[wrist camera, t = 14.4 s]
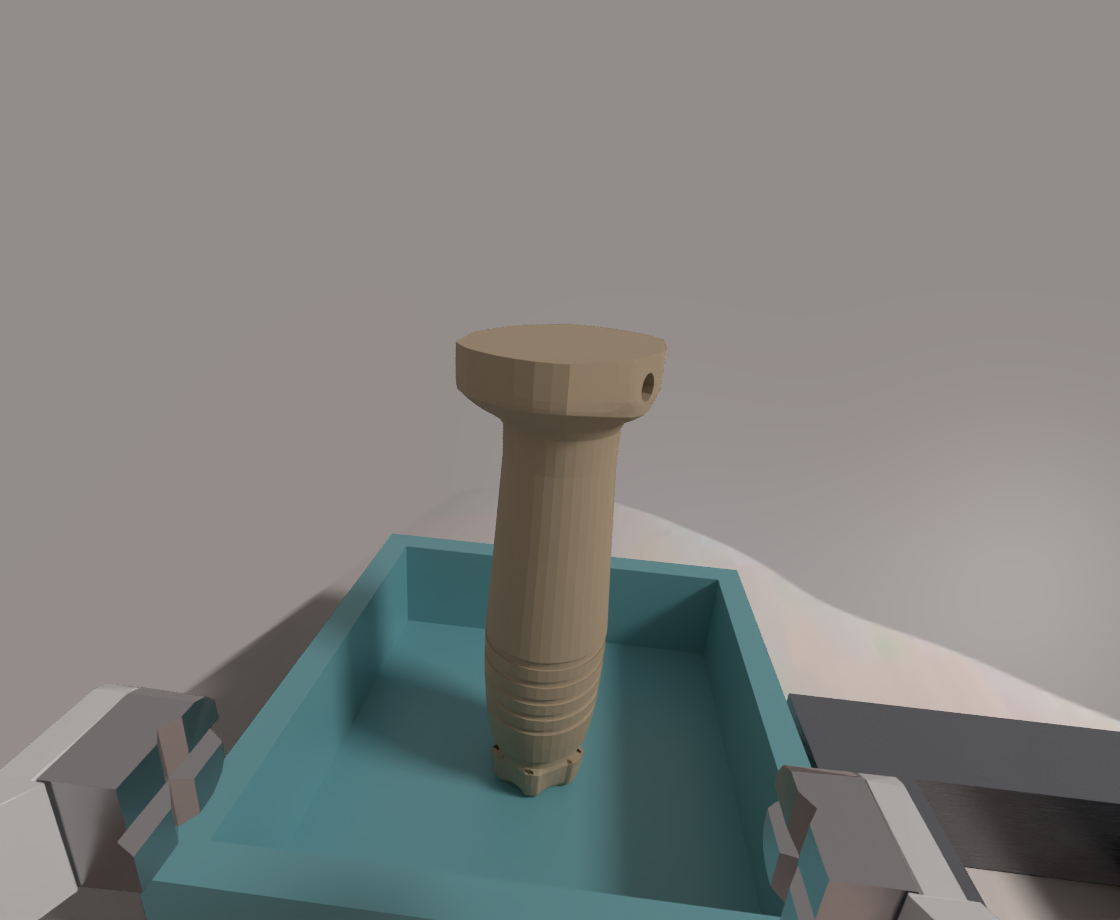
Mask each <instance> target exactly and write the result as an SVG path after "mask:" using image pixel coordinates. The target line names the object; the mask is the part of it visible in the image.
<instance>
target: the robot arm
mask: <svg viewBox="0 0 1120 920" xmlns="http://www.w3.org/2000/svg"><path fill="white" fill-rule="evenodd" d="M217 719H218V714H217V709H216V705H215V700H213V699H210V698H208V697H204V696H197V695H190V694H184V693H177V692H169V691H163V690H156V689H149V688H143V687H141V688H139V687H131V686H125V685H118V684H111V683H108V684H106V685H103V686H100V687H97V688H95V689H94V690H92V691H91V692H90V693H89V694H88V695H87V696H85V697H84V699H82V700H81V701H80V702H78V703H77V704H76V705H75V706H74V707H73V708H72V709H70V710H69V711H68V712H67V713H66V714H65V715H63V716H62V717H61V718H60V719H59V720H58V721H57V722H55V723H54V724H53V725H52V726H51V727H50V728H48V729H47V730H46V731H45V732H44V733H43V734H42V735H40V736H39V737H38V738H37V739H36V740H35V741H33V742H32V743H31V744H30V745H29V746H28V747H26V748H25V749H24V750H23V751H22V752H21V753H20V754H18V755H17V756H16V757H15V758H14V759H13V760H12V761H10V762H9V763H8V764H7V765H6V766H5V767H3V768H2V769H1V770H0V920H38V919H40V918H41V917H43V916H44V915H45V914H47V913H48V912H49V911H51V910H52V909H53V908H55V907H56V906H58V905H59V904H60V903H62V902H63V901H64V900H66V899H67V898H69V897H70V896H71V895H73V894H74V893H75V892H77V890H78V888H77V886H79V887H89V888H99V889H108V890H118V891H128V892H138V893H143V892H144V891H145V889H146V888H147V886H148V885H149V884H150V882H151V881H152V880H153V878H154V877H155V875H156V874H157V873H158V871H159V870H160V868H161V867H162V866H163V864H164V863H165V861H166V860H167V859H168V857H169V856H170V855H171V853H172V852H173V850H174V849H175V848H176V846H177V845H178V837H179V826H180V825H182V824H183V823H185V822H187V821H188V820H190V819H191V818H193V817H194V816H196V815H198V814H199V813H200V812H201V811H202V810H203V808H204V807H205V805H206V804H207V802H208V801H209V799H210V798H211V796H212V795H213V793H214V791H215V788H216V786H217V783H218V781H219V779H220V776H221V774H222V770H223V762H224V749H223V743H222V741H221V740H220V739H219V737H218V736H217V735H216V734H215V733H214V732H213V731H212V730H211V729H210V728H211V727H212V725H213V724H214V723H215V721H216V720H217ZM774 786H775V790H776V793H777V796H778V801H777V802H776V803H774V804H773V805H772V806H770V807H769V808H768V809H767V813H766V818H765V822H764V826H763V852H764V859H765V866H766V871H767V875H768V879H769V883H770V886H771V888H772V889H773V890H774V891H775V892H776V894H777V895H778V896H779V897H780V898H781V899H782V901H783V902H784V903H785V904H784V908H783V911H782V914H781V918H780V920H1000V919H999V918H998V917H996V916H995V915H994V914H993V913H992V912H991V911H990V910H989V909H987V908H986V907H985V906H984V905H983V904H982V903H981V902H975V901H969V900H967V898H966V896H965V895H964V893H963V891H962V889H961V887H960V886H959V884H958V882H957V880H956V878H955V876H954V875H953V873H952V871H951V869H950V867H949V866H948V864H947V862H946V860H945V858H944V857H943V855H942V853H941V851H940V849H939V848H938V846H937V844H936V842H935V840H934V838H933V837H932V835H931V833H930V831H929V829H928V828H927V826H926V824H925V822H924V820H923V819H922V817H921V815H920V813H919V811H918V810H917V808H916V806H915V804H914V802H913V801H912V799H911V797H910V795H909V793H908V791H907V790H906V788H905V786H904V784H903V783H902V782H901V781H899V780H898V779H897V778H896V777H890V776H881V775H872V774H863V773H857V774H855V773H853V772H846V771H836V770H827V769H818V768H808V767H799V766H790V765H783V766H782V767H781V768H780V769H779V771H778V773H777V777H776V780H775V783H774Z"/></svg>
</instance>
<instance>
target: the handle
mask: <svg viewBox="0 0 1120 920" xmlns="http://www.w3.org/2000/svg"><path fill="white" fill-rule="evenodd" d="M666 348H667V347H666V344H665V341H664V340H663V339H660V338H657V337H654V336H650V335H645V334H641V333H636V332H630V331H624V330H618V329H610V328H603V327H595V326H584V325H571V324H557V325H556V324H551V325H519V326H518V325H517V326H509V327H501V328H494V329H486V330H481V331H476V332H473V333H470V334H468V335H467V336H465V337H463V338H461V339H460V340H458V341H457V342H456V384H457V388H458V390H460V391H461V392H462V393H463V394H464V395H465V396H466V397H467V398H468V399H469V400H471V401H472V402H473V403H475V404H476V405H477V406H479V407H481V408H482V409H483V410H485V411H487V412H489V413H491V414H493V415H495V416H497V417H498V418H500V419H501V421H502V422H503V457H502V468H501V479H500V488H499V499H498V509H497V520H496V530H495V539H494V549H493V558H492V567H491V576H490V585H489V595H488V604H487V613H486V628H485V688H486V703H487V713H488V719H489V725H490V730H491V733H492V736H493V738H494V740H495V742H494V745H493V747H491V755H492V764H493V769H494V771H495V773H496V775H497V776H498V778H499V779H501V780H502V781H508V782H511V783H513V784H515V785H516V786H518V787H519V788H520V789H521V790H522V791H523V794H525V795H530V796H538V795H539V793H541V792H542V791H543V790H545V789H547V788H549V787H552V786H556V785H561V784H562V785H566V784H569V783H570V782H572V780H573V779H574V778H575V776H576V775H577V772H578V769H579V767H580V764H581V759H582V755H583V751H584V750H583V749H582V748H581V746H580V745H581V744H582V742H583V741H584V739H585V736H586V733H587V730H588V728H589V725H590V722H591V718H592V714H593V711H594V707H595V702H596V697H597V692H598V686H599V682H600V677H601V671H602V664H603V657H604V649H605V642H606V634H607V624H608V605H609V585H610V565H611V545H612V528H613V511H614V495H615V478H616V463H617V455H618V447H619V439H620V432H621V428H622V426H623V424H624V423H626V422H629V421H632V420H635V419H637V418H639V417H641V416H643V415H644V414H645V413H646V412H647V411H648V410H649V409H650V408H651V406H652V404H653V403H654V401H655V399H656V397H657V395H658V393H659V391H660V387H661V382H662V376H663V371H664V363H665V355H666Z"/></svg>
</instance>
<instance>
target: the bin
mask: <svg viewBox="0 0 1120 920" xmlns="http://www.w3.org/2000/svg"><path fill="white" fill-rule="evenodd" d="M493 549H494V544H485V543H475V542H466V541H456V540H447V539H438V538H428V537H419V536H409V535H400V534H392V535H391V536H390V538H389V539H388V540H387V541H386V543H385V544H384V545H383V547H382V548H381V550H380V551H379V552H378V554H377V555H376V556H375V558H374V559H373V560H372V562H371V563H370V564H369V566H368V567H367V568H366V570H365V571H364V572H363V574H362V575H361V576H360V578H359V579H358V580H357V582H356V583H355V584H354V586H353V587H352V588H351V590H350V591H349V592H348V594H347V595H346V596H345V598H344V599H343V600H342V602H341V603H340V604H339V606H338V607H337V609H336V610H335V611H334V613H333V614H332V615H331V617H330V618H329V619H328V621H327V622H326V623H325V625H324V626H323V627H322V629H321V630H320V631H319V633H318V634H317V635H316V637H315V638H314V639H313V641H312V642H311V643H310V645H309V646H308V647H307V649H306V650H305V651H304V653H303V654H302V655H301V657H300V658H299V659H298V661H297V662H296V664H295V665H294V666H293V668H292V669H291V670H290V672H289V673H288V674H287V676H286V677H285V678H284V680H283V681H282V682H281V684H280V685H279V686H278V688H277V689H276V690H275V692H274V693H273V694H272V696H271V697H270V698H269V700H268V701H267V702H266V704H265V705H264V706H263V708H262V709H261V710H260V712H259V713H258V714H257V716H256V717H255V718H254V720H253V721H252V723H251V724H250V725H249V727H248V728H247V729H246V731H245V732H244V733H243V735H242V736H241V737H240V739H239V740H238V741H237V743H236V744H235V745H234V747H233V748H232V749H231V751H230V752H229V753H228V755H227V756H226V757H225V759H224V762H223V770H222V774H221V776H220V779H219V781H218V783H217V786H216V788H215V791H214V793H213V795H212V796H211V798H210V799H209V801H208V802H207V804H206V805H205V807H204V808H203V810H202V811H201V812H200V813H199V814H198V815H196V816H194V817H193V818H191V819H190V820H188V821H187V822H185V823H183V824H182V825H180V826H179V837H178V845H177V846H176V848H175V849H174V850H173V852H172V853H171V855H170V856H169V857H168V859H167V860H166V861H165V863H164V864H163V866H162V867H161V868H160V870H159V871H158V873H157V874H156V875H155V877H154V878H153V880H152V881H151V882H150V884H149V885H148V886H147V888H146V889H145V891H144V892H143V893H140V896H141V900H142V904H143V908H144V912H145V915H146V919H147V920H780V918H781V914H782V911H783V908H784V904H785V903H784V902H783V901H782V899H781V898H780V897H779V896H778V895H777V894H776V892H775V891H774V890H773V889H772V888H771V886H770V883H769V879H768V875H767V871H766V866H765V859H764V852H763V826H764V822H765V818H766V813H767V809H768V808H769V807H770V806H772V805H773V804H774V803H776V802H777V801H778V796H777V793H776V790H775V786H774V783H775V780H776V777H777V773H778V771H779V769H780V768H781V767H782V766H783V765H790V766H799V767H808V768H811V765H810V763H809V760H808V757H807V755H806V752H805V749H804V747H803V744H802V742H801V739H800V736H799V734H798V731H797V728H796V726H795V723H794V720H793V718H792V715H791V712H790V710H789V707H788V704H787V702H786V699H785V697H784V694H783V691H782V689H781V686H780V683H779V681H778V678H777V675H776V673H775V670H774V667H773V665H772V662H771V660H770V657H769V654H768V652H767V649H766V646H765V644H764V641H763V638H762V636H761V633H760V630H759V628H758V625H757V623H756V620H755V617H754V615H753V612H752V609H751V607H750V604H749V601H748V599H747V596H746V593H745V591H744V588H743V586H742V583H741V580H740V578H739V575H738V572H737V570H730V569H720V568H711V567H701V566H692V565H683V564H673V563H664V562H654V561H645V560H635V559H626V558H617V557H611V565H610V585H609V605H608V624H607V634H606V642H605V649H604V657H603V664H602V671H601V677H600V682H599V686H598V692H597V697H596V702H595V707H594V711H593V714H592V718H591V722H590V725H589V728H588V730H587V733H586V736H585V739H584V741H583V742H582V744H581V745H580V746H581V748H582V749H583V750H584V751H583V755H582V759H581V764H580V767H579V769H578V772H577V775H576V776H575V778H574V779H573V780H572V782H570V783H569V784H566V785H562V784H561V785H556V786H552V787H549V788H547V789H545V790H543V791H542V792H541V793H539V795H538V796H530V795H525V794H523V791H522V790H521V789H520V788H519V787H518V786H516V785H515V784H513V783H511V782H508V781H502V780H501V779H499V778H498V776H497V775H496V773H495V771H494V769H493V764H492V755H491V747H493V745H494V742H495V740H494V738H493V736H492V733H491V730H490V725H489V719H488V713H487V703H486V688H485V628H486V613H487V604H488V595H489V585H490V576H491V567H492V558H493Z"/></svg>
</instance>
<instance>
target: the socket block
mask: <svg viewBox="0 0 1120 920" xmlns="http://www.w3.org/2000/svg"><path fill="white" fill-rule="evenodd" d="M787 704H788V707H789V710H790V712H791V715H792V718H793V720H794V723H795V726H796V728H797V731H798V734H799V736H800V739H801V742H802V744H803V747H804V749H805V752H806V755H807V757H808V760H809V763H810V765H811V768H818V769H827V770H836V771H846V772H853V773H855V774H857V773H863V774H872V775H881V776H890V777H896V778H897V779H898V780H899V781H901V782H902V783H903V784H904V786H905V788H906V790H907V791H908V793H909V795H910V797H911V799H912V801H913V802H914V804H915V806H916V808H917V810H918V811H919V813H920V815H921V817H922V819H923V820H924V822H925V824H926V826H927V828H928V829H929V831H930V833H931V835H932V837H933V838H934V840H935V842H936V844H937V846H938V848H939V849H940V851H941V853H942V855H943V857H944V858H945V860H946V862H947V864H948V866H949V867H950V869H951V871H952V873H953V875H954V876H955V878H956V880H957V882H958V884H959V886H960V887H961V889H962V891H963V893H964V895H965V896H966V898H967V900H969V901H975V902H981V903H982V904H983V905H984V906H985V907H986V905H985V903H984V901H983V900H982V898H981V896H980V894H979V893H978V891H977V889H976V887H975V885H974V884H973V882H972V880H971V878H970V877H969V875H968V873H967V871H966V869H965V868H964V866H965V867H973V868H981V869H989V870H996V871H1004V872H1012V873H1020V874H1027V875H1035V876H1043V877H1051V878H1058V879H1066V880H1074V881H1082V882H1090V883H1097V884H1105V885H1113V886H1120V732H1116V731H1108V730H1099V729H1091V728H1082V727H1073V726H1065V725H1056V724H1048V723H1039V722H1030V721H1022V720H1013V719H1004V718H996V717H987V716H979V715H970V714H961V713H953V712H944V711H935V710H927V709H918V708H910V707H901V706H892V705H884V704H875V703H867V702H858V701H849V700H841V699H832V698H823V697H815V696H806V695H798V694H789V695H788V699H787ZM986 908H987V907H986Z"/></svg>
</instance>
